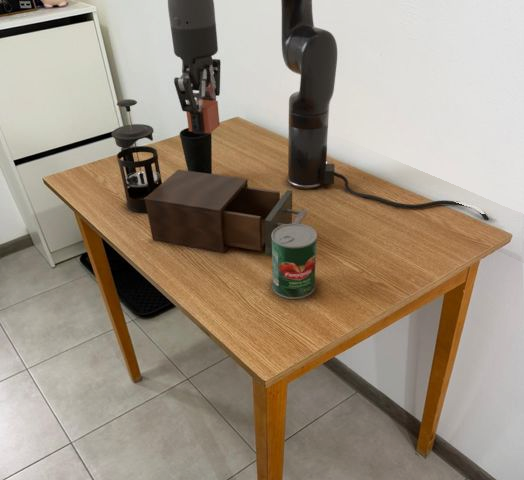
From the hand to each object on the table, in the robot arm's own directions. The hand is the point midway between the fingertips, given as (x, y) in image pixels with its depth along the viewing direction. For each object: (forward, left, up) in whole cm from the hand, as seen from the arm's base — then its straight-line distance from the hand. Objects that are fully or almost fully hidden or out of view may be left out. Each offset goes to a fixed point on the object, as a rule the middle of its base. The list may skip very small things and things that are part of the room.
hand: (204, 127), depth 95 cm
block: (0, 0, 0) cm, 0 cm away
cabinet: (+3, -1, -22) cm, 22 cm away
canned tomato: (-18, +19, -22) cm, 35 cm away
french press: (+19, -13, -22) cm, 32 cm away
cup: (+8, -26, -22) cm, 35 cm away
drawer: (-9, +3, -21) cm, 23 cm away
